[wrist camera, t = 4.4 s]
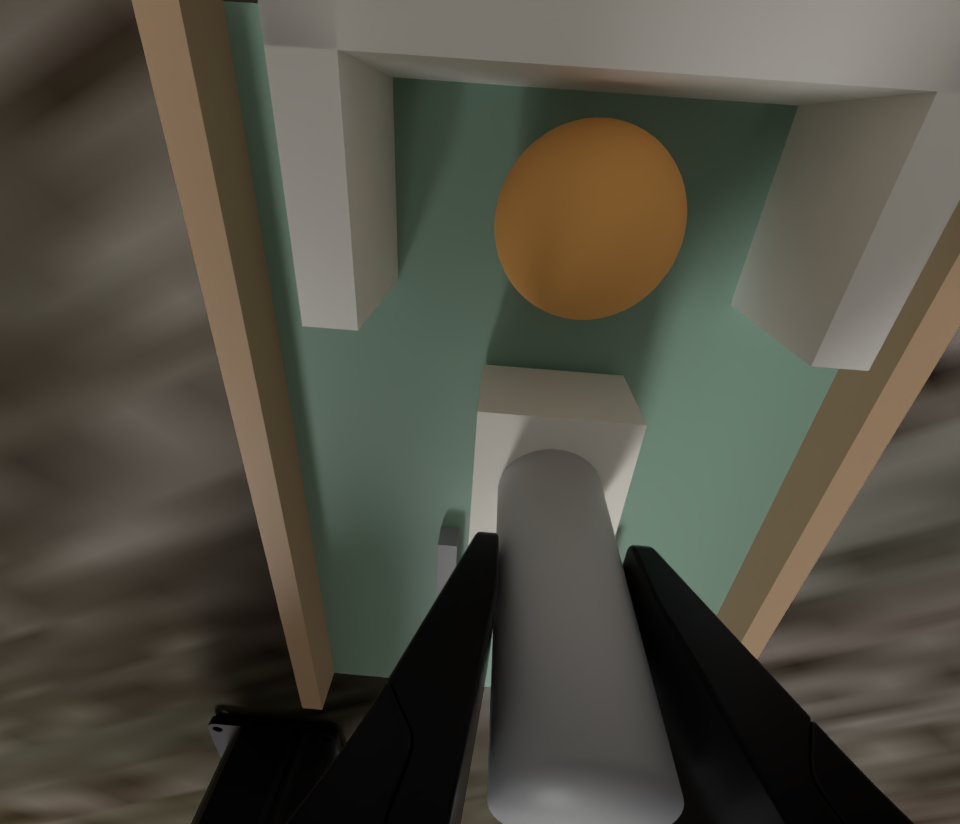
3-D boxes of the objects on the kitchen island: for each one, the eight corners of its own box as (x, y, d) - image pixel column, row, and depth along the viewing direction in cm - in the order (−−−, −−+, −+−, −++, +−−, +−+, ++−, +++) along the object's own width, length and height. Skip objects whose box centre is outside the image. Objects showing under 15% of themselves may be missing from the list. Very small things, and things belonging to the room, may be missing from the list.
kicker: (594, 495, 14) (683, 877, 7) (474, 485, 14) (436, 853, 7) (623, 375, 12) (794, 737, 5) (483, 364, 12) (442, 705, 5)
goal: (772, 307, 11) (868, 370, 8) (357, 276, 11) (302, 326, 8) (874, 45, 9) (1066, -3, 6) (338, 8, 9) (250, -56, 6)
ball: (730, 72, 7) (650, 196, 11) (505, 56, 7) (499, 184, 11) (723, 290, 7) (643, 345, 10) (488, 272, 7) (486, 333, 11)
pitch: (686, 686, 21) (704, 745, 19) (322, 653, 21) (302, 707, 19) (1000, 62, 9) (1131, 42, 7) (204, 7, 10) (125, -26, 8)
